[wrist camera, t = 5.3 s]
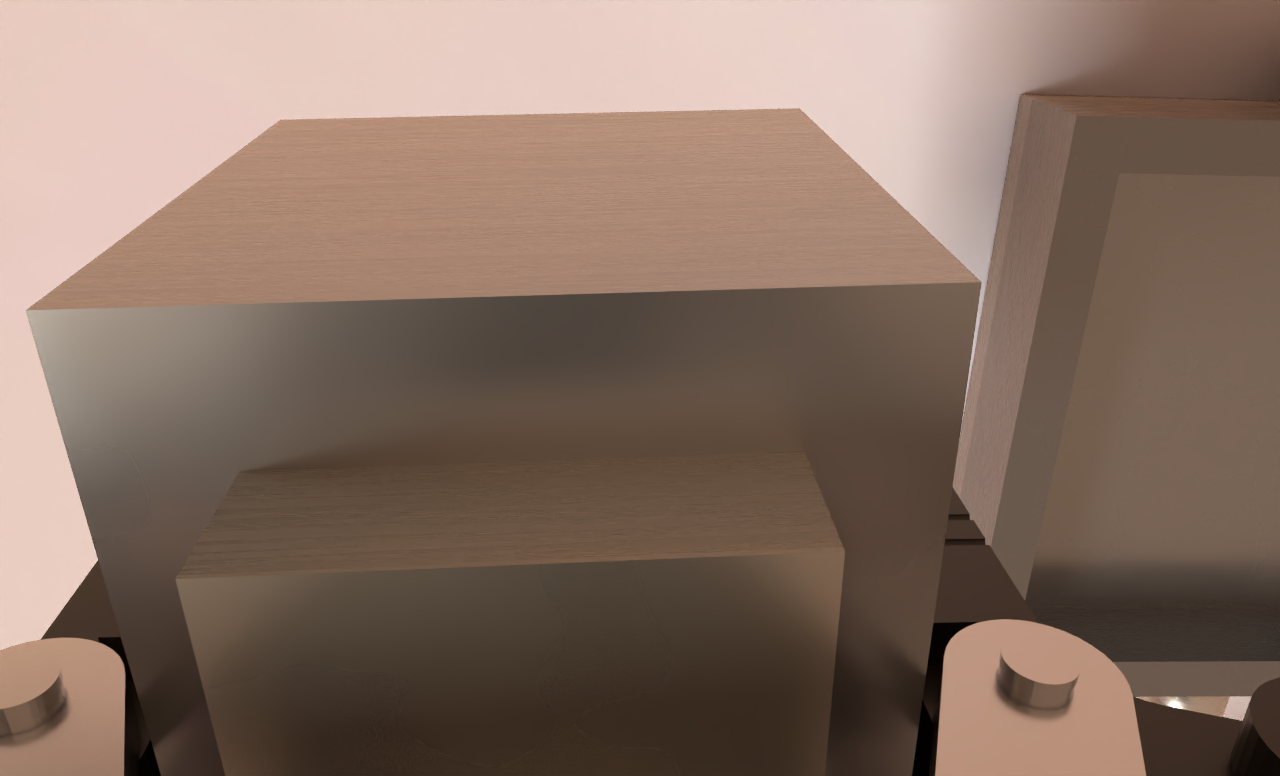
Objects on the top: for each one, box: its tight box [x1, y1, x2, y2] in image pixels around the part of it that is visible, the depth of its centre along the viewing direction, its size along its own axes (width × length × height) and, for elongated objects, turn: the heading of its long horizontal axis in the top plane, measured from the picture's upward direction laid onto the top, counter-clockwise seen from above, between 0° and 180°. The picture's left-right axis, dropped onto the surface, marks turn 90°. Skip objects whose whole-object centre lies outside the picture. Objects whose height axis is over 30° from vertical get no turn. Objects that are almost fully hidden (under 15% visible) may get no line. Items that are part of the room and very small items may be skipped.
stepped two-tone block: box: [26, 109, 981, 776], centre depth 9 cm, size 8×5×6 cm, turn 1°
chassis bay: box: [953, 95, 1280, 717], centre depth 22 cm, size 16×12×3 cm
